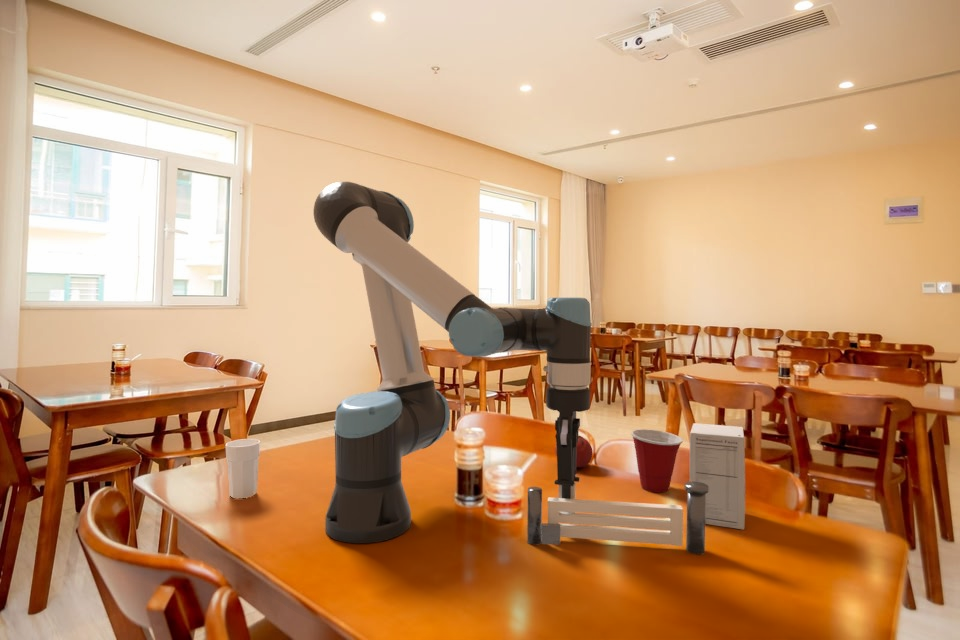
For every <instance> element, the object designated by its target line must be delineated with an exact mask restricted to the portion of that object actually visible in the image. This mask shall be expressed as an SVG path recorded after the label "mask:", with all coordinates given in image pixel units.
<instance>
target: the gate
mask: <svg viewBox="0 0 960 640" xmlns="http://www.w3.org/2000/svg"><path fill="white" fill-rule="evenodd" d="M559 511H568V512H575V513H567V512H559ZM547 523H548V524H560V538H571V539H572V538H573V539H587V540H599V541H610V542H611V541H613V542H614V541H615V542H624V543H625V542H627V543H639V544H641V543H642V544H654V545H669V546H676V547H678V546H679V547H683V546H684V545H683V542H684V529H683V528H684V508H683V507H682V505H680V504H663V503H662V504H660V503H647V502H646V503H644V502H643V503H642V502H627V501H611V500H610V501H609V500H598V499H595V500H594V499H579V498H575V499H566V498H559V497H553V496H552V497H547Z"/></svg>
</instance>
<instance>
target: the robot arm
mask: <svg viewBox="0 0 960 640" xmlns="http://www.w3.org/2000/svg"><path fill="white" fill-rule="evenodd" d="M313 219H314V223H315V225H316V228H317V229H318V231H319V232H320V234H321V235H322V236H324V238H325V239H327V241H329V242H330V244H332V245H334V247H336V248H337V249H338V250H340V252H343V253H344V254H345V253H346V254H351V255H352V259H353V261H355V262H356V263H357V264H359V265H360V266H361V268H362V273H363V279H364V284H365V290H366V295H367V300H368V306H369V311H370V318H371V323H372V329H373V333H374V338H375V344H376V350H377V354H378V355H377V356H378V361H379V366H380V372H381V377H382V380H381V383H380V384H379V385H378V387H377V388H376V391H368V392H365V393H364V392H362V393H357V394H354V395H350V396H348V397H347V398H345V399H343V400H341V401H340V403H338V405H337V407H336V409H335V420H334V424H333V427H334V429H333V430H334V454H335V455H334V456H335V458H334V459H335V465H334V468H335V486H334V489H333V492H332V495H331V498H330V501H329V504H328V508H327V511H326V514H325V518H324V519H325V521H324V523H325V524H324V525H325V527H324V529H325V533H326V534H327V535H328V536H329V537H330V538H332V539H333V540H336V541H339V542H344V543H347V544H348V543H349V544H351V543H352V544H371V543H378V542H383V541H387V540H391V539H395V538H397V537H398V536H401V535H402V534H404V533H406V532H407V531H408V530H409V528H410V527H411V525H412V513H411V512H412V510H411V507H410V503H409V500H408V497H407V494H406V491H405V489H404V486H403V482H402V457H405V456H407V455H410V454H412V453H414V452H415V453H416V452H417V451H419V450H421V449H427V448H428V447H430V446H432V445H433V444H434V443H436V442H438V441H439V440H440V439H441V438H442V437H443V436H444V435H445V433H446V432H447V430H448V427H449V425H450V420H451V410H450V406H449V402H448V400H447V399H446V397H445V395H443V394H441V392H440V391H439V390H437V389H436V386H435V381H434V378H433V377H432V376H431V375H429V374H428V373H426V371H425V367H424V361H423V358H422V351H421V346H420V340H419V336H418V331H417V326H416V320H415V315H414V310H413V305H415V306H416V307H417V308H419V309H420V310H421V311H422V312H424V313H425V314H426V315H427V316H428V317H429V318H430V319H432V320H433V321H435V322H436V323H437V324H438V325H439V326H440V327H441V328H443V329H444V330H445V331H446V332H447V333H448V337H449V340H450V342H451V345H452V347H453V348H454V349H455V350H456V351H457V352H458V353H459V354H461V355H462V356H466V357H475V358H481V357H487V356H491V355H493V354H494V355H495V354H500V353H506V352H512V351H538V352H539V351H540V352H544V351H546V353H545V354H546V365H544V366H543V368H542V369H543V371H544V372H547V373H546V383H547V384H548V386H547V387H546V388H545V389H546V390H545V391H546V392H545V394H546V396H545V398H546V399H545V404H546V408H547V409H549V410H551V411H557V412H558V413H559V414H558V416H557V418H556V419H555V421H554V430H555V431H556V433H555V437H554V438H555V443H556V444H557V455H556V467H557V468H556V469H557V471H556V472H557V473H556V474H557V479H555V480H554V485H555V486H558V498H566V499H576V483H579V482H580V477H579V476H576V475H577V473H578V470H577V468H576V458H577V442H578V436H579V430H580V426H581V419H580V418H577V413H579V412H585V411H588V410H589V409H590V407H591V389H590V388H589V387H588V386H590V385H591V374H592V373H591V371H592V370H591V369H592V368H591V366H592V365H591V364H592V363H591V336H592V335H591V334H592V320H591V319H592V318H591V317H592V316H591V303H590V301H589V299H587V298H585V297H550V298H548V299H547V302H546V306H545V308H544V307H542V308H525V307H524V308H522V307H521V308H518V307H517V308H516V307H513V308H512V307H495V308H493V307H491V306H490V305H488V303H486V302H485V301H483V300H482V299H481V298H479V297H478V296H477V295H475V293H473V292H472V291H471V290H469V288H467V287H466V286H464V285H463V284H462V283H460V282H459V281H458V280H456V279H455V278H454V277H452V276H451V275H450V274H449V273H447V272H446V271H445V270H443V268H441V267H439V266H438V265H437V264H436V263H434V262H433V261H432V260H430V258H428V257H427V256H425V255H424V254H423V253H421V252H420V251H419V250H418V249H416V248H415V247H414V246H413V245H411V244H410V243H409V241H411V236H412V235H413V232H414V226H415V224H414V223H415V222H414V218H413V214H412V211H411V209H410V208H409V205H408V204H406V203H405V201H403V200H402V199H401V198H399V197H397V196H395V195H394V194H393V193H390V192H387V191H383V190H376V189H373V188H370V187H367V186H365V185H363V184H359V183H356V182H351V181H337V182H334V183H330V184H329V185H327V186H326V187H324V188H323V189H322V190H321V191H320V192H319V194H318V195H317V196H316V198H315V201H314V205H313ZM412 303H413V304H412ZM556 444H555V445H556ZM559 512H567V513H576V512H568V511H559Z"/></svg>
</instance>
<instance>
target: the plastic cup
mask: <svg viewBox="0 0 960 640" xmlns="http://www.w3.org/2000/svg"><path fill="white" fill-rule="evenodd" d="M630 433H631V436H632V440H633V445H634V449H635V450H634V451H635V457H636V463H637V471H638V475H639V481H640V485H641V488H642V489H643V490H644V491H646V492H652V493H656V494H657V493H666V492H668V491H669V489H670V486H671V482H672V477H673V473H674V468H675V464H676V459H677V455H678V451H679V448H680V446H681V444H683V442H684V441H683V440H684V439H683V438H682V437H681V436H679V435H676V434H674V433H671V432H667V431H662V430H657V429H649V428H646V429H644V428H642V429H641V428H640V429H634V430H631V432H630Z"/></svg>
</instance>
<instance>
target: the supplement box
mask: <svg viewBox="0 0 960 640" xmlns="http://www.w3.org/2000/svg"><path fill="white" fill-rule="evenodd" d="M689 482H701V483H704V484H706V485H708V486H709V488H708V493H706V507H705V525H711V526H718V527H725V528H731V529H737V530H745V520H746V519H745V517H746V455H745V435H744V427H743V426H737V425H734V426H733V425H724V424H723V425H722V424H721V425H720V424H708V423H707V424H706V423H696V422H695V423H694V422H693V423H692V426H691V430H690V433H689Z"/></svg>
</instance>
